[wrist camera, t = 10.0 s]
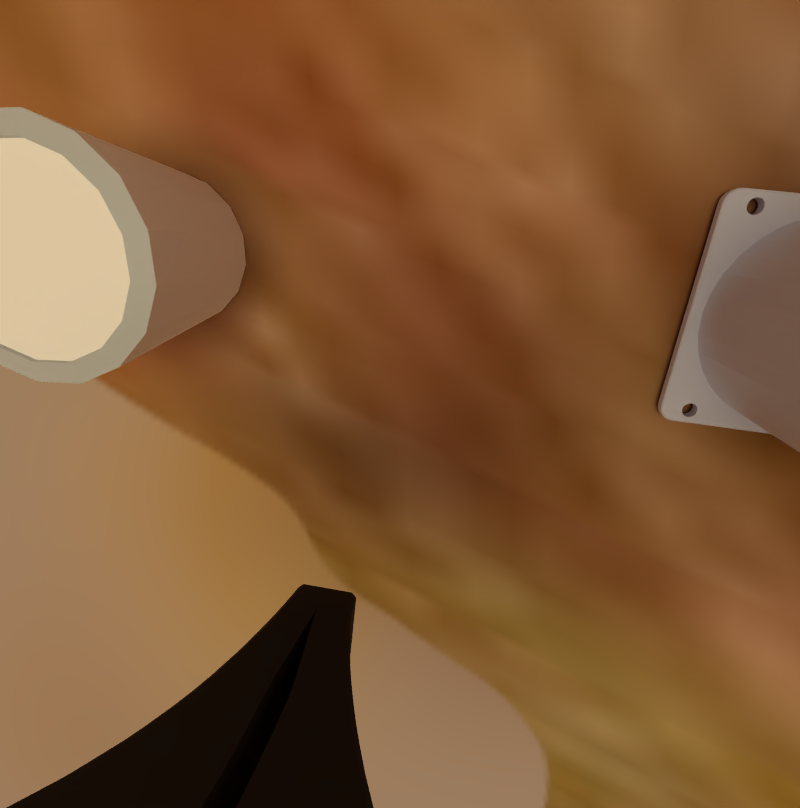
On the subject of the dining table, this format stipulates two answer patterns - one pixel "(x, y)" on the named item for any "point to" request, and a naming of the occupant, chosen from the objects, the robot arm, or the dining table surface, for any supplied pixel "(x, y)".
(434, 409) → the dining table surface
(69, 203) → the shot glass
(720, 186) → the dining table surface
